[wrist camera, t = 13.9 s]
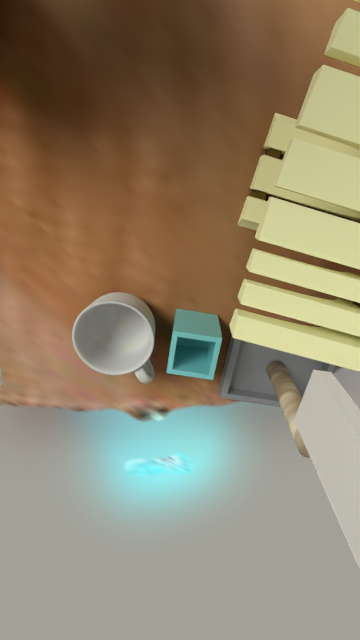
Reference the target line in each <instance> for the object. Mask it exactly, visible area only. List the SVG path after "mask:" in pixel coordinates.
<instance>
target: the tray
mask: <svg viewBox="0 0 360 640" xmlns="http://www.w3.org/2000/svg"><path fill="white" fill-rule="evenodd" d="M272 361H281V362H283V363H284V365H285V366H286V368H287V370H288V372H289V374H290V376H291V378H292V380H293V381H294V383H295V385H296V387H297V389H298V391H299V393H300V395H301V397H302V398H303V395H304V393H305V390H306V387H307V385H308V382H309V380H310V377H311V374H312V372H313V370H320V371H327V372H332V373H333V372H334V370H335V367H336V365H333V364H329V363H325V362H321V361H318V360H314V359H310V358H306V357H303V356H299V355H295V354H291V353H288V352H284V351H280V350H276V349H273V348H269V347H265V346H261V345H258V344H254V343H250V342H246V341H243V340H239V339H235V338H233V337H232V335H231V340H230V344H229V348H228V352H227V356H226V360H225V365H224V369H223V373H222V377H221V381H220V385H219V393H220V398H224V399H231V400H238V401H245V402H252V403H258V404H266V405H272V406H279V407H281V406H280V403H279V401H278V398H277V396H276V393H275V391H274V388H273V386H272V384H271V381H270V379H269V376H268V374H267V371H266V367H267V365H268V364H269V363H270V362H272Z"/></svg>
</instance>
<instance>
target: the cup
mask: <svg viewBox="0 0 360 640" xmlns="http://www.w3.org/2000/svg"><path fill="white" fill-rule="evenodd" d="M221 342H222V334H221V329H220V324H219V319H218V315H215V314H209V313H202V312H196V311H189V310H182V309H176V313H175V320H174V326H173V333H172V339H171V346H170V353H169V359H168V366H167V372H166V373H170V374H176V375H183V376H190V377H197V378H203V379H210V380H213V377H214V373H215V369H216V364H217V360H218V355H219V351H220V347H221Z"/></svg>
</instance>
